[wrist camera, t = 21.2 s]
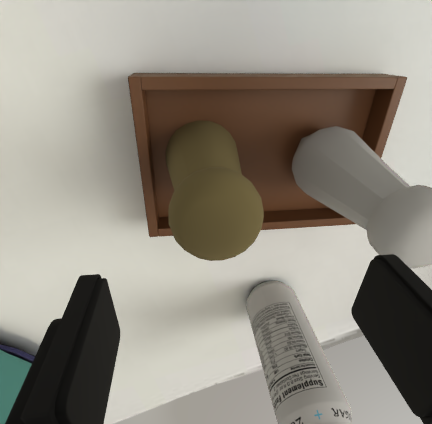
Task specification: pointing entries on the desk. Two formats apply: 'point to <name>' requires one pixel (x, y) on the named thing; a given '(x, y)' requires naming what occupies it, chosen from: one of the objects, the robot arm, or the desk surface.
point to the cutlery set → (11, 377)
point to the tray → (258, 130)
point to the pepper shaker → (210, 193)
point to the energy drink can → (294, 359)
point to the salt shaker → (366, 193)
